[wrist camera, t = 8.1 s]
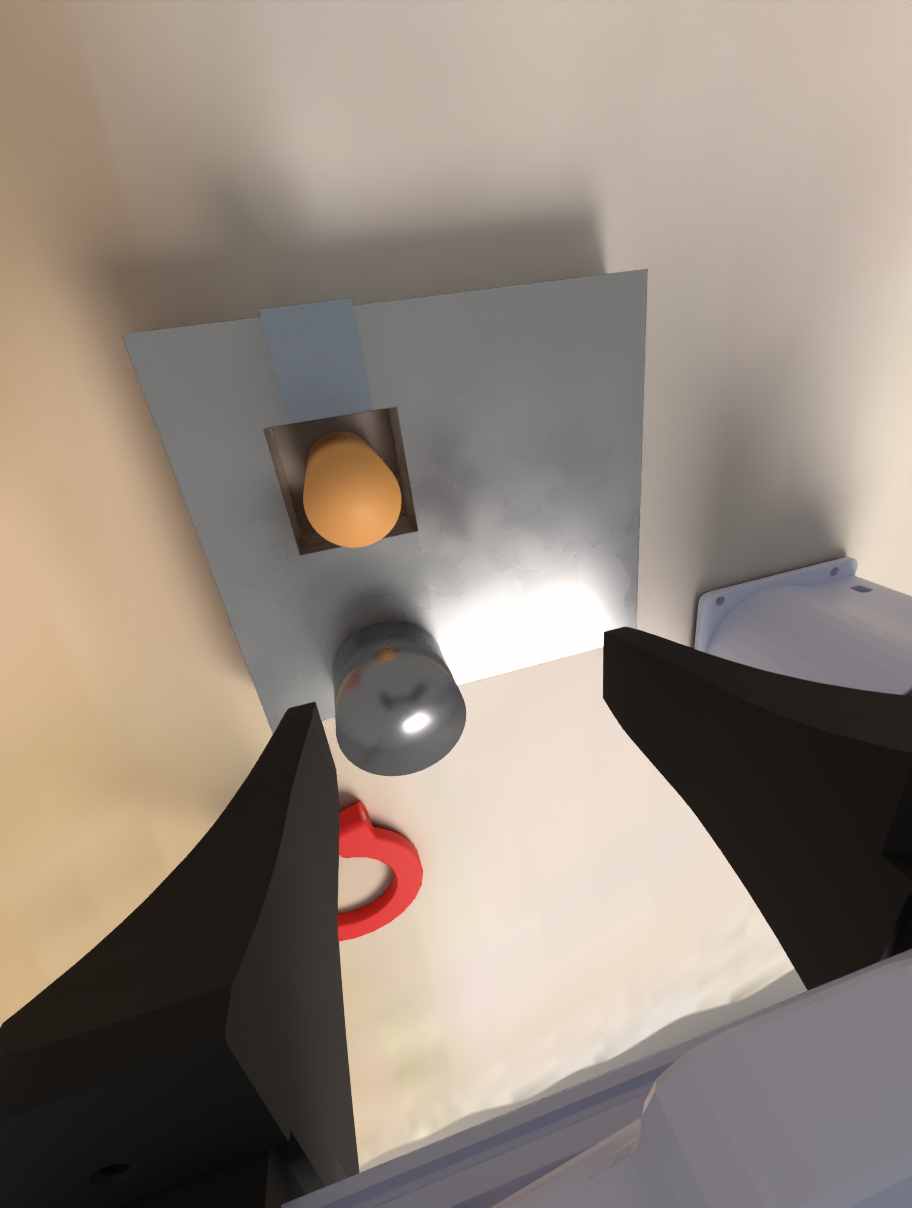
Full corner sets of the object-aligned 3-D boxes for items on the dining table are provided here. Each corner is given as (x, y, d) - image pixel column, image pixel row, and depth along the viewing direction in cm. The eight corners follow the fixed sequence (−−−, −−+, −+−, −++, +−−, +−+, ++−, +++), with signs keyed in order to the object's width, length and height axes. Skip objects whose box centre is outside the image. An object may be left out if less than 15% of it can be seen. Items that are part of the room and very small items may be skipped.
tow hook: (440, 877, 30) (373, 785, 25) (519, 1188, 19) (425, 1128, 14) (313, 942, 29) (220, 861, 25) (317, 1300, 18) (150, 1277, 14)
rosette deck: (607, 282, 18) (725, 242, 13) (607, 626, 25) (686, 693, 19) (148, 340, 16) (63, 320, 10) (281, 710, 22) (270, 814, 17)
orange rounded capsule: (371, 426, 18) (393, 444, 13) (382, 496, 19) (407, 538, 14) (299, 436, 18) (292, 458, 13) (315, 506, 19) (315, 555, 14)
